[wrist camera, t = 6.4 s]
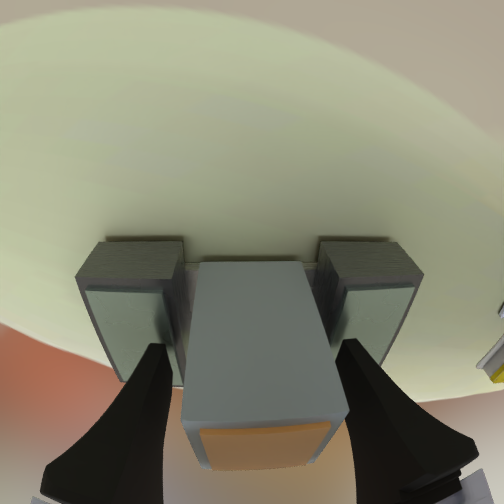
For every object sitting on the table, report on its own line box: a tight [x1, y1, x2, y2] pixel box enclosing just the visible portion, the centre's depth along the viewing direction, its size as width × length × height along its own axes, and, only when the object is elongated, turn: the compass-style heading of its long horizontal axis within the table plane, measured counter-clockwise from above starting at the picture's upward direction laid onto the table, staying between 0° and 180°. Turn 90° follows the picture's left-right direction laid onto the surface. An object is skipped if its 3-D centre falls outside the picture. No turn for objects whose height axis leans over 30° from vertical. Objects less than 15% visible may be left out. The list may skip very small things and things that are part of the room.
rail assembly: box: [75, 241, 424, 387], centre depth 13 cm, size 15×7×4 cm, turn 88°
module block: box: [181, 261, 350, 471], centre depth 11 cm, size 4×5×8 cm
